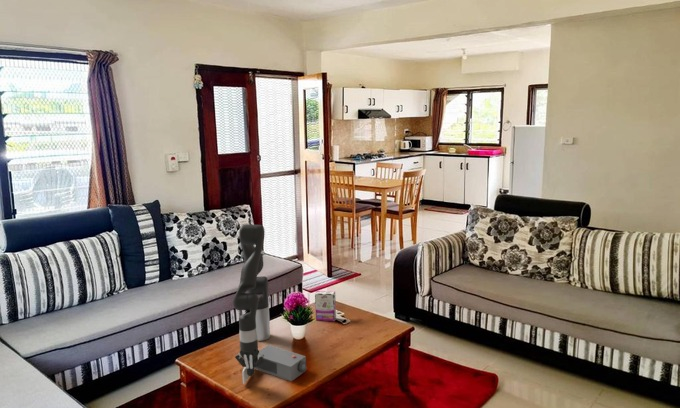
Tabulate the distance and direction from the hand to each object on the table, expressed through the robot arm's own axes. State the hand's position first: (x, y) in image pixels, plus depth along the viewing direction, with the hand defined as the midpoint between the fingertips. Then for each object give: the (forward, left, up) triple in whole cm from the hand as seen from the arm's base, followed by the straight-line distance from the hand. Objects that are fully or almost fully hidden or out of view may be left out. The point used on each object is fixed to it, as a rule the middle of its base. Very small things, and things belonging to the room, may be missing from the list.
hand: (250, 375), depth 210 cm
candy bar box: (-10, +73, -4) cm, 74 cm away
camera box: (+3, +16, -4) cm, 17 cm away
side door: (-5, +3, -3) cm, 7 cm away
